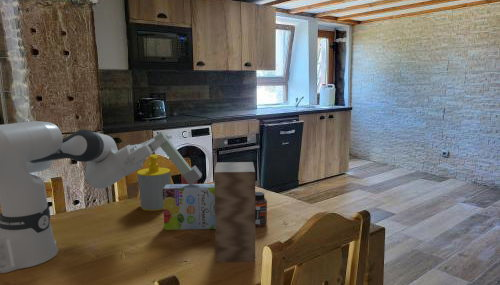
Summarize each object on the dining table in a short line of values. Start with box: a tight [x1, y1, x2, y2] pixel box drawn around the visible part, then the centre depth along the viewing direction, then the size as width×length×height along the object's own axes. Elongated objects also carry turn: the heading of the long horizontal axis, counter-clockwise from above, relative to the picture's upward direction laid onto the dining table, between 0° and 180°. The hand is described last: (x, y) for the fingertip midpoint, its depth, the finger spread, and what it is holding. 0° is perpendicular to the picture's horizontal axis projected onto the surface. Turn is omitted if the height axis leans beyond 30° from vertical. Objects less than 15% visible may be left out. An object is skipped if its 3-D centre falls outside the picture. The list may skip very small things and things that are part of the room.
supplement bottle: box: [255, 191, 268, 228], centre depth 127 cm, size 6×6×11 cm
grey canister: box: [136, 154, 171, 212], centre depth 145 cm, size 13×13×21 cm
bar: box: [153, 131, 203, 185], centre depth 121 cm, size 20×5×4 cm
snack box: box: [163, 183, 215, 231], centre depth 124 cm, size 21×6×15 cm, turn 92°
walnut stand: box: [213, 161, 256, 263], centre depth 104 cm, size 11×12×26 cm
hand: (166, 137), depth 120 cm, fingers closed on bar, 3 cm apart
